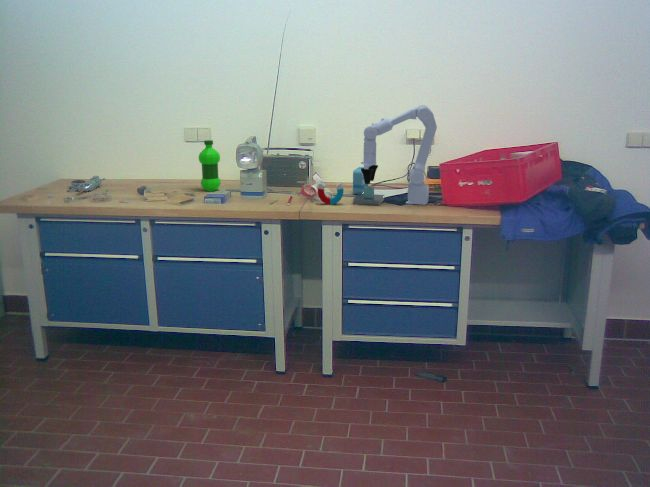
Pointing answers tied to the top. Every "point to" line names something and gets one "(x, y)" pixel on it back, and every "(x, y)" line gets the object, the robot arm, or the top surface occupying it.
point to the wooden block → (368, 192)
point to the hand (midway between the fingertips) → (369, 182)
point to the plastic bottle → (209, 167)
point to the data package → (358, 181)
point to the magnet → (327, 199)
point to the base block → (368, 200)
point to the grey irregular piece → (85, 184)
